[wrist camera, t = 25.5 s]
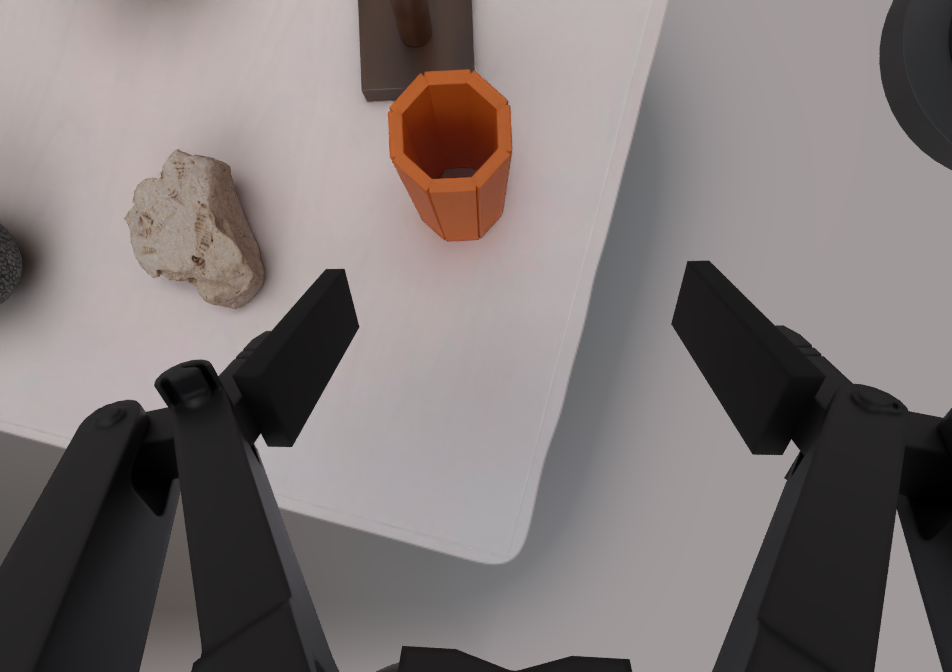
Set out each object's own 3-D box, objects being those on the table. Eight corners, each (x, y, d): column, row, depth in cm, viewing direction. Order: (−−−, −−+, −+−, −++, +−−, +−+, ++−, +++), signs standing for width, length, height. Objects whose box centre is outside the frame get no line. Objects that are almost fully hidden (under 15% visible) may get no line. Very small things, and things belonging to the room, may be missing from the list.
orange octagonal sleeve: (500, 156, 33) (508, 66, 22) (503, 238, 33) (514, 188, 22) (417, 160, 33) (386, 72, 22) (421, 242, 33) (391, 195, 22)
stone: (244, 164, 34) (202, 135, 29) (284, 295, 33) (250, 288, 28) (144, 197, 34) (85, 173, 29) (184, 327, 34) (132, 326, 29)
